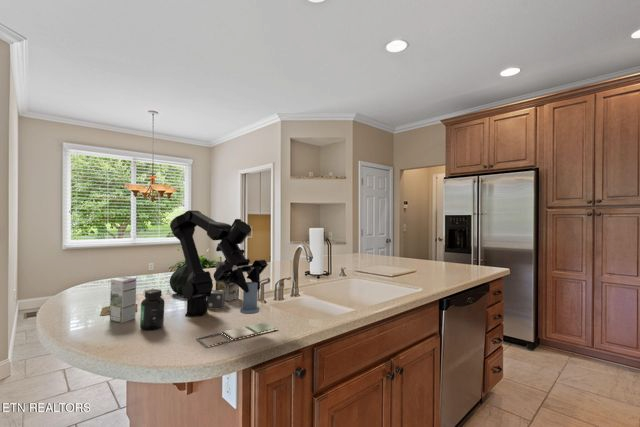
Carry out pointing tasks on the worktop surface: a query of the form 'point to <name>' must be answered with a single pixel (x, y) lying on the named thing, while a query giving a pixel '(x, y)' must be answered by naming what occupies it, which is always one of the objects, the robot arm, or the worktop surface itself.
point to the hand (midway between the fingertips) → (253, 290)
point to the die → (216, 299)
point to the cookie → (108, 311)
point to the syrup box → (123, 299)
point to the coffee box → (228, 287)
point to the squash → (179, 279)
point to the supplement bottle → (152, 311)
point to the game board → (241, 332)
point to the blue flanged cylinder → (250, 299)
